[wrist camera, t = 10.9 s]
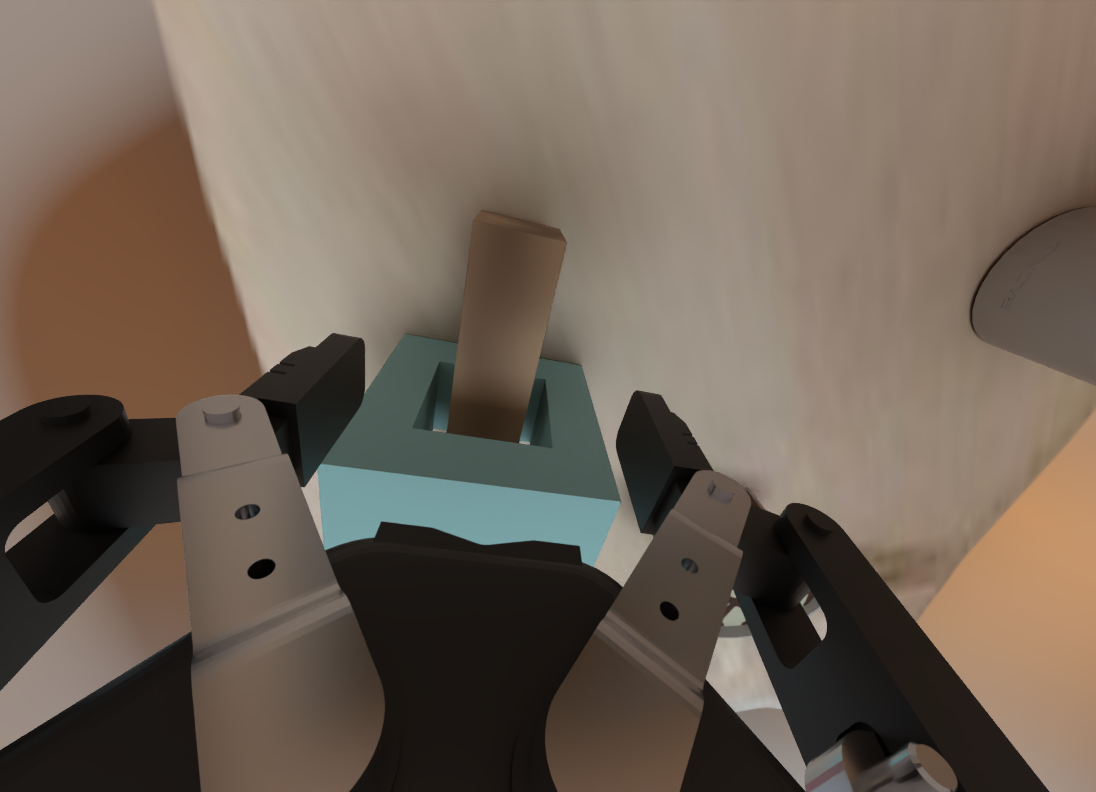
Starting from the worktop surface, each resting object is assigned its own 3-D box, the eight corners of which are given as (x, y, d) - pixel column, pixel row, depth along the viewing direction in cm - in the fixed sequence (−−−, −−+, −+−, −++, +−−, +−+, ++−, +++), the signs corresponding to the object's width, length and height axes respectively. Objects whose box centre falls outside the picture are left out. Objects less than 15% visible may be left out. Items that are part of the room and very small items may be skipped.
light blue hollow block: (581, 365, 28) (621, 501, 17) (564, 423, 30) (589, 576, 19) (405, 333, 26) (316, 463, 15) (402, 398, 28) (324, 551, 17)
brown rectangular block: (559, 229, 21) (566, 242, 17) (496, 505, 30) (493, 550, 27) (481, 210, 20) (473, 220, 16) (443, 499, 30) (432, 543, 26)
